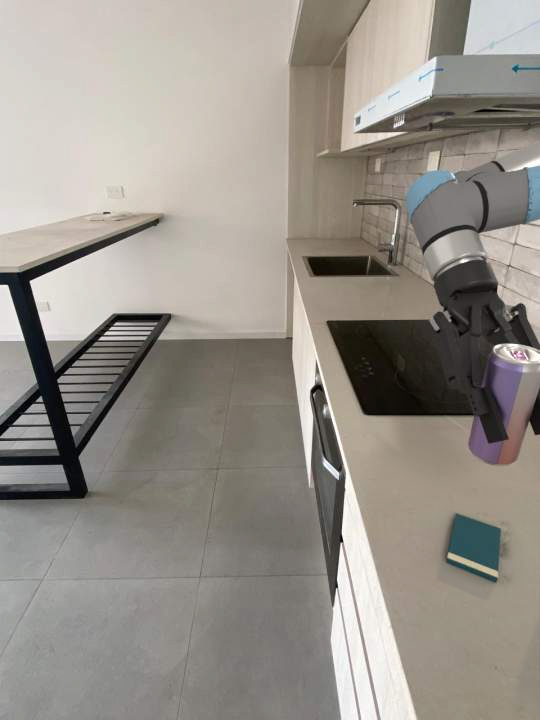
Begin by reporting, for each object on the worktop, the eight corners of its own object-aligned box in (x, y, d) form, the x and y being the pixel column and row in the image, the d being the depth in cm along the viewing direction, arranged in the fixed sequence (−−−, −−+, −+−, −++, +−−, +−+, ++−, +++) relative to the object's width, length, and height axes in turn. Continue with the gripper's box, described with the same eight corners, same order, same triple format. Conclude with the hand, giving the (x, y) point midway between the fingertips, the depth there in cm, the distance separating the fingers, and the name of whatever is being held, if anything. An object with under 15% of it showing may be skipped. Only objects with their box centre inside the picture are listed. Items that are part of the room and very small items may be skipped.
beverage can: (470, 463, 51) (495, 360, 45) (464, 437, 57) (486, 340, 50) (521, 472, 50) (555, 366, 43) (511, 444, 55) (540, 345, 48)
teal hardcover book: (455, 516, 60) (456, 512, 60) (499, 532, 57) (501, 528, 57) (446, 562, 53) (447, 558, 53) (496, 583, 50) (497, 578, 50)
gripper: (500, 281, 60) (562, 431, 53) (386, 292, 57) (435, 453, 49) (538, 252, 53) (616, 419, 46) (410, 262, 50) (472, 445, 42)
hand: (522, 436), depth 48 cm, fingers closed on beverage can, 6 cm apart
